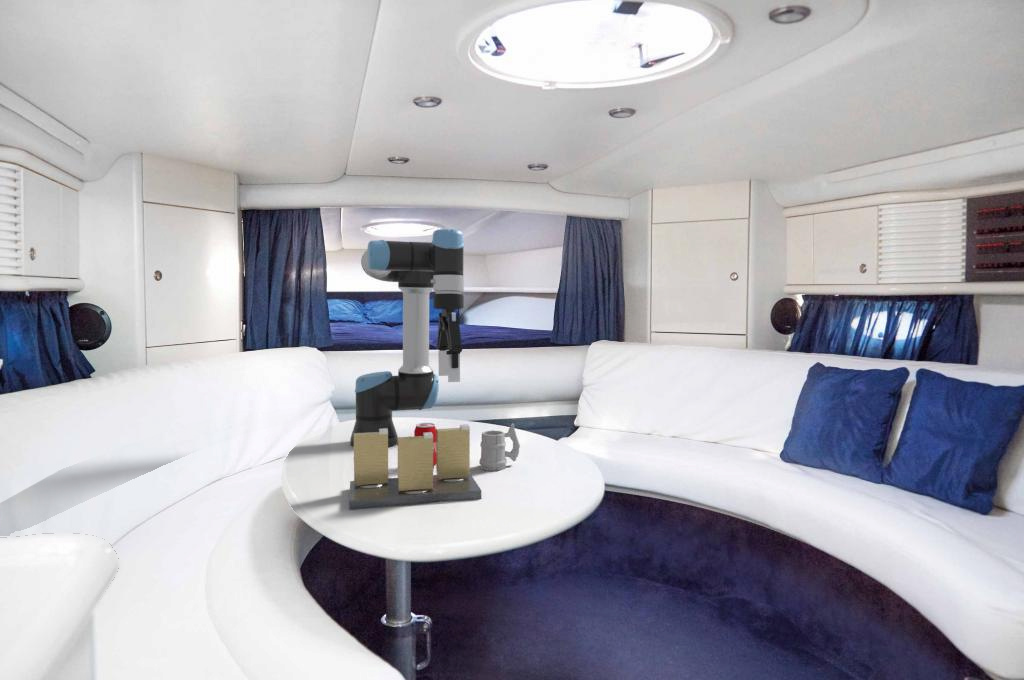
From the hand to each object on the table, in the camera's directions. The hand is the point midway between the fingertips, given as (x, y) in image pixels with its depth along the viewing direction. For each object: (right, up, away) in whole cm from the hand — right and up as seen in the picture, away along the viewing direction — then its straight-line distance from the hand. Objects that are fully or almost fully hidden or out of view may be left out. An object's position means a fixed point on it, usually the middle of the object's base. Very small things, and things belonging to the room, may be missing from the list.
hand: (448, 378), depth 144 cm
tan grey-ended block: (-7, -25, -8) cm, 27 cm away
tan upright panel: (+1, -25, +2) cm, 25 cm away
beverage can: (-9, -26, +19) cm, 34 cm away
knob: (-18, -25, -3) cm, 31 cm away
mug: (+12, -26, +20) cm, 35 cm away
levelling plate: (-8, -28, -4) cm, 29 cm away
